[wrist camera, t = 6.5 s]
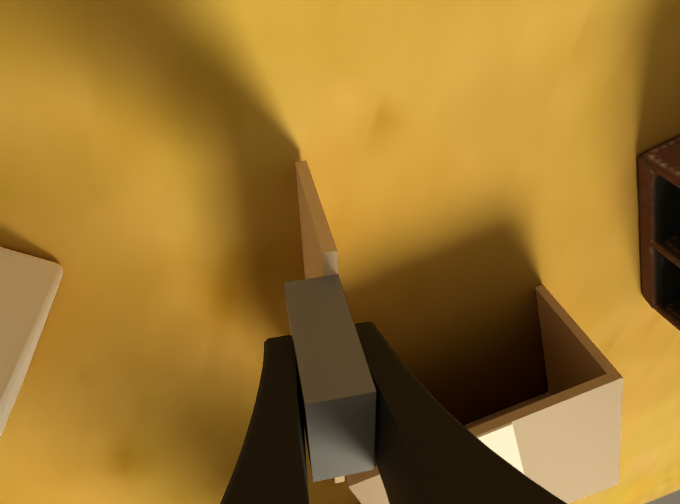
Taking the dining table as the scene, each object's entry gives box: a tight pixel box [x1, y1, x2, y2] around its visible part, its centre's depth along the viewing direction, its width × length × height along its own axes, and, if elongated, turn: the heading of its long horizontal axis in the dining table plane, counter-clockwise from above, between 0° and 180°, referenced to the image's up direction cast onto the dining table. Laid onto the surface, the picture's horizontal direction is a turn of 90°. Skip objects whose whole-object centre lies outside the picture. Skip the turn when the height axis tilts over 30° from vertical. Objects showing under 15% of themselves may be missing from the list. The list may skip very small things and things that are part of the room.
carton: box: [346, 284, 623, 504], centre depth 25 cm, size 10×12×6 cm
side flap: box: [284, 161, 376, 483], centre depth 17 cm, size 2×12×10 cm, turn 2°
